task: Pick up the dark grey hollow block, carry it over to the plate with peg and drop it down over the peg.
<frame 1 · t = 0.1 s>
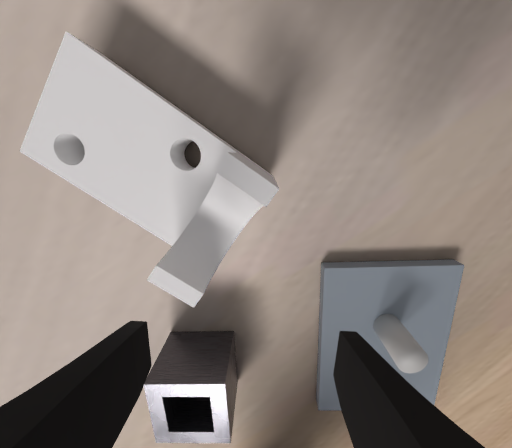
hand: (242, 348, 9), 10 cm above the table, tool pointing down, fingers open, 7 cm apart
bracket: (171, 163, 18), on the table
plate with peg: (377, 336, 21), on the table
dark grey hollow block: (205, 357, 22), on the table
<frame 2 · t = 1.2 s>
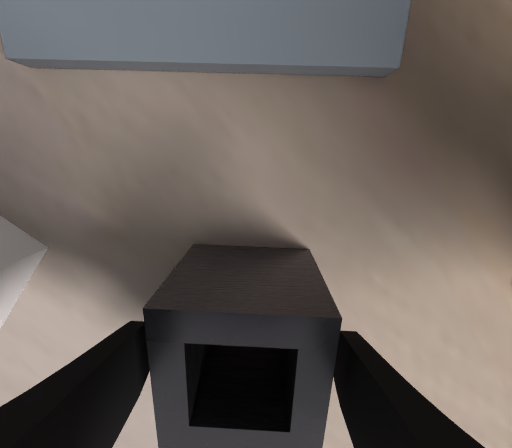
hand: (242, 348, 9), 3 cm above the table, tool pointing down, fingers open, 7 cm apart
dark grey hollow block: (249, 297, 12), on the table
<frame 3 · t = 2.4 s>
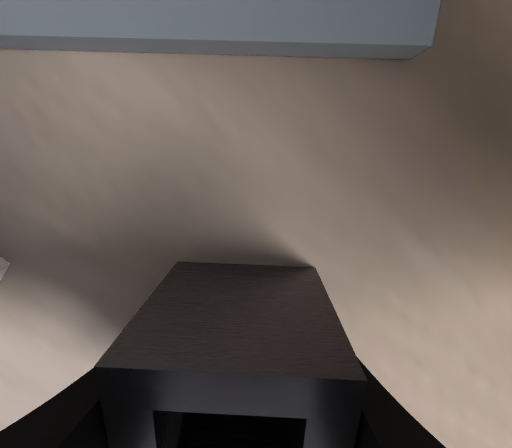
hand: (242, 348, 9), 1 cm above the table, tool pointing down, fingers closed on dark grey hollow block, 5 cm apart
dark grey hollow block: (244, 323, 10), on the table, touching gripper
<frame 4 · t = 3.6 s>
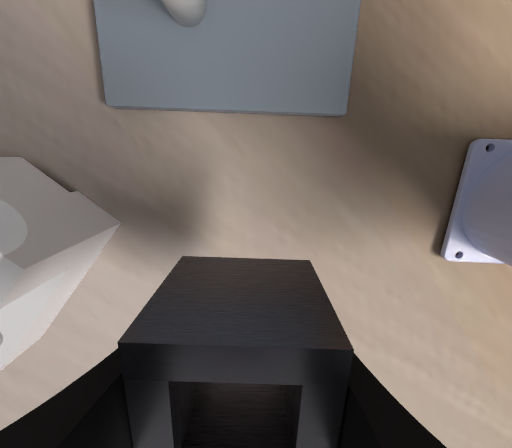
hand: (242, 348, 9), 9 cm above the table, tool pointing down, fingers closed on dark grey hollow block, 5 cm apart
bracket: (42, 254, 19), on the table
plate with peg: (228, 16, 14), on the table
dark grey hollow block: (244, 313, 11), point 7 cm above the table, touching gripper
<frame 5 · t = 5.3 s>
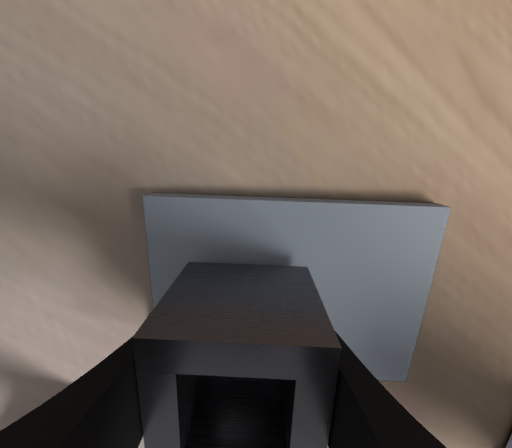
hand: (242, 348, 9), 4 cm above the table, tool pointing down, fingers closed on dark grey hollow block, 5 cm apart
plate with peg: (285, 287, 13), on the table
dark grey hollow block: (246, 316, 12), point 2 cm above the table, touching gripper
when the fingers open (4 cm above the table, at t = 6.5 s): dark grey hollow block stays where it is, resting on plate with peg.
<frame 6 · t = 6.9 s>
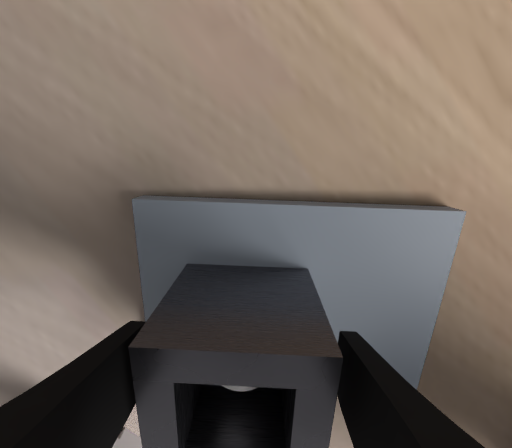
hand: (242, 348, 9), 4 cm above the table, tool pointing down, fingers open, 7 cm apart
plate with peg: (286, 296, 12), on the table
dark grey hollow block: (246, 317, 12), point 1 cm above the table, touching plate with peg
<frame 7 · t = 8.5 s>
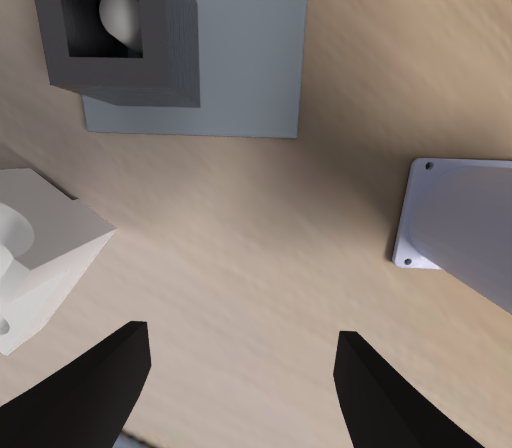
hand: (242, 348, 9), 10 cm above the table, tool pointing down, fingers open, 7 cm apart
bracket: (45, 253, 21), on the table
plate with peg: (191, 52, 16), on the table
dark grey hollow block: (154, 57, 15), point 1 cm above the table, touching plate with peg
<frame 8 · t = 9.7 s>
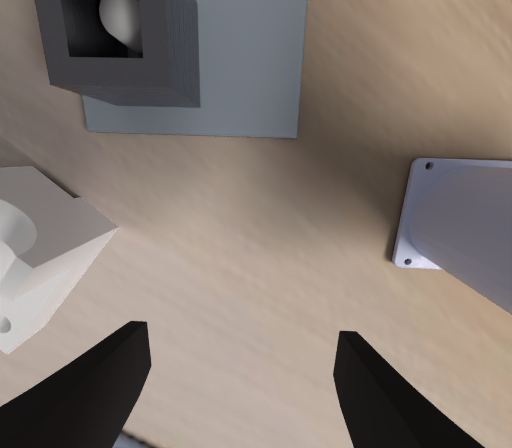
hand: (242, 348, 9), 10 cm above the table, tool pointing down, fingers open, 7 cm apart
bracket: (47, 251, 21), on the table
plate with peg: (191, 52, 16), on the table
dark grey hollow block: (154, 57, 15), point 1 cm above the table, touching plate with peg
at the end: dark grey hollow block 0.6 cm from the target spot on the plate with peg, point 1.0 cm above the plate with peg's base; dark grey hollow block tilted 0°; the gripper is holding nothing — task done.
